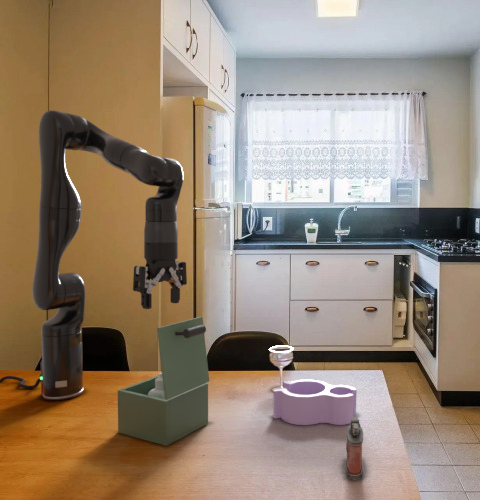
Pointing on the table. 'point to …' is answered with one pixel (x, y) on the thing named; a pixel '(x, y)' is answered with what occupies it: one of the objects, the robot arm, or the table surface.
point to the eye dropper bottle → (158, 388)
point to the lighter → (354, 449)
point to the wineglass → (280, 358)
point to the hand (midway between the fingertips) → (161, 305)
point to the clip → (314, 402)
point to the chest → (161, 412)
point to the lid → (183, 356)
